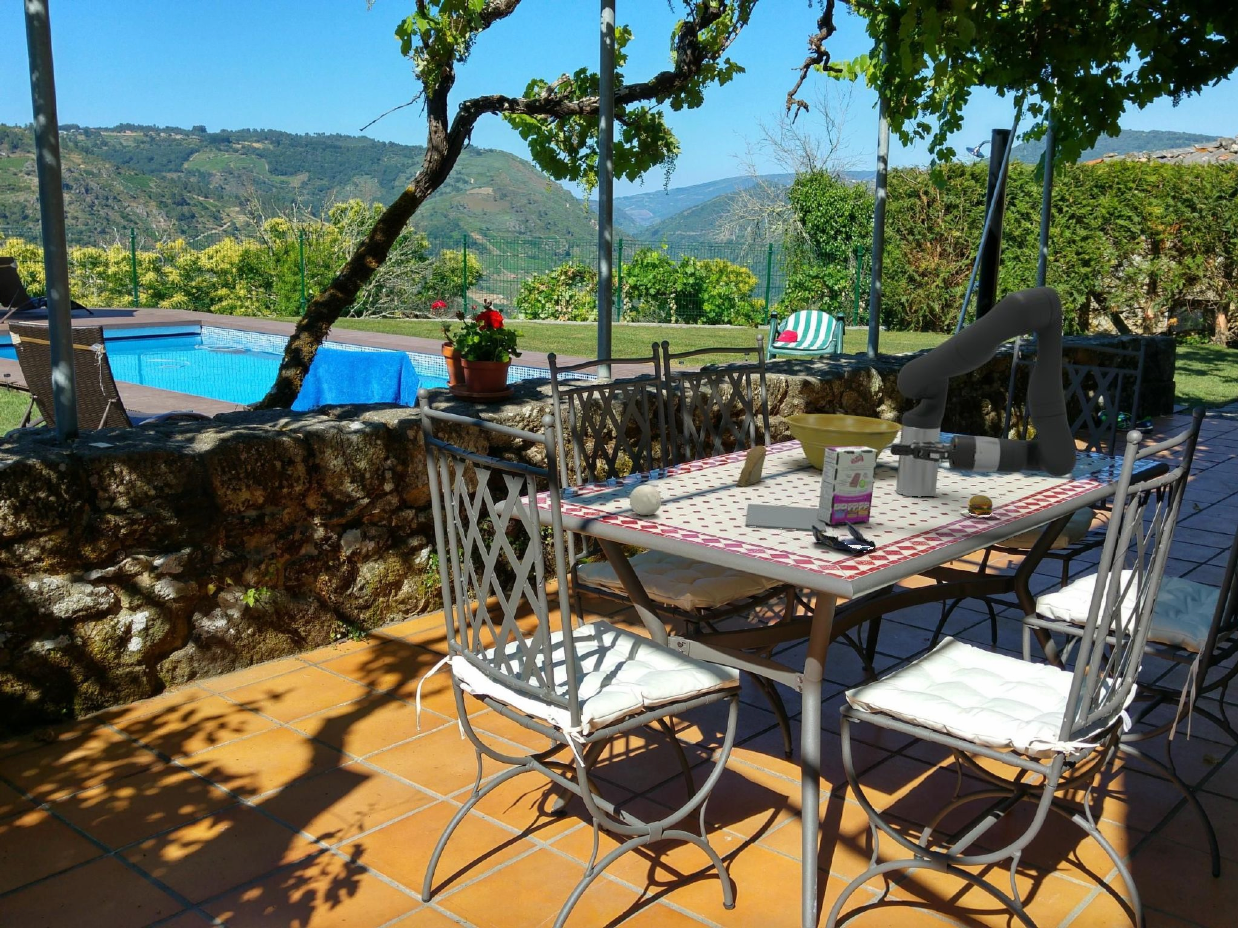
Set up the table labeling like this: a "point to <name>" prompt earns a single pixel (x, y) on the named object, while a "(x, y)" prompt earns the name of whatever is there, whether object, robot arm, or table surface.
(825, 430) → the planter bowl
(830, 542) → the snack package
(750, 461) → the rock
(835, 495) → the candy bar box
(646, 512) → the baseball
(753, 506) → the mat
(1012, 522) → the table surface
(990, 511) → the hamburger
